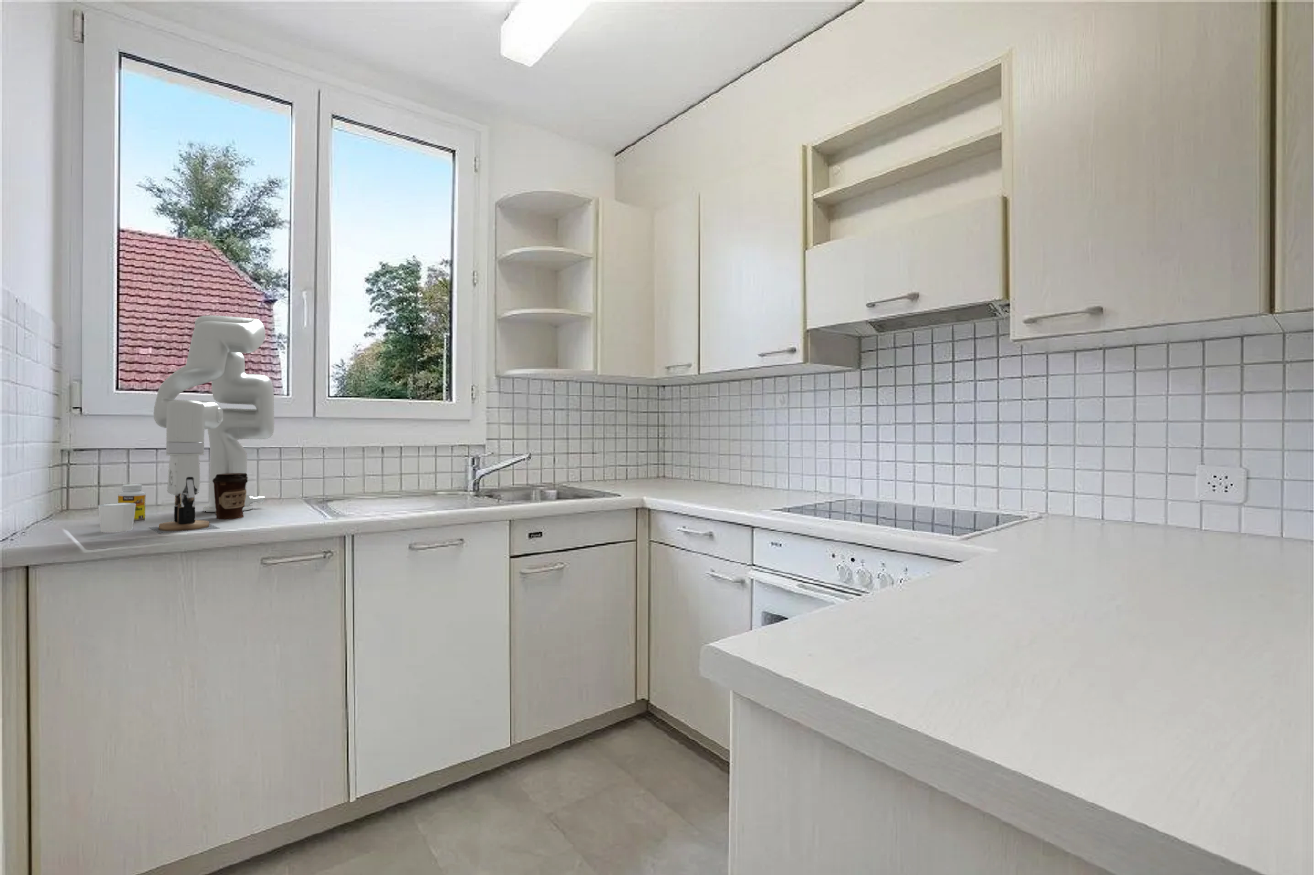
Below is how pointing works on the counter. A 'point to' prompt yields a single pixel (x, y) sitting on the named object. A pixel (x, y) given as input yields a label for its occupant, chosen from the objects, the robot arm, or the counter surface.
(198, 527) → the lid
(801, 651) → the counter surface
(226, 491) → the coffee cup
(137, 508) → the supplement bottle
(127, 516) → the white cup
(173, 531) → the mat
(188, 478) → the robot arm
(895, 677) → the counter surface
